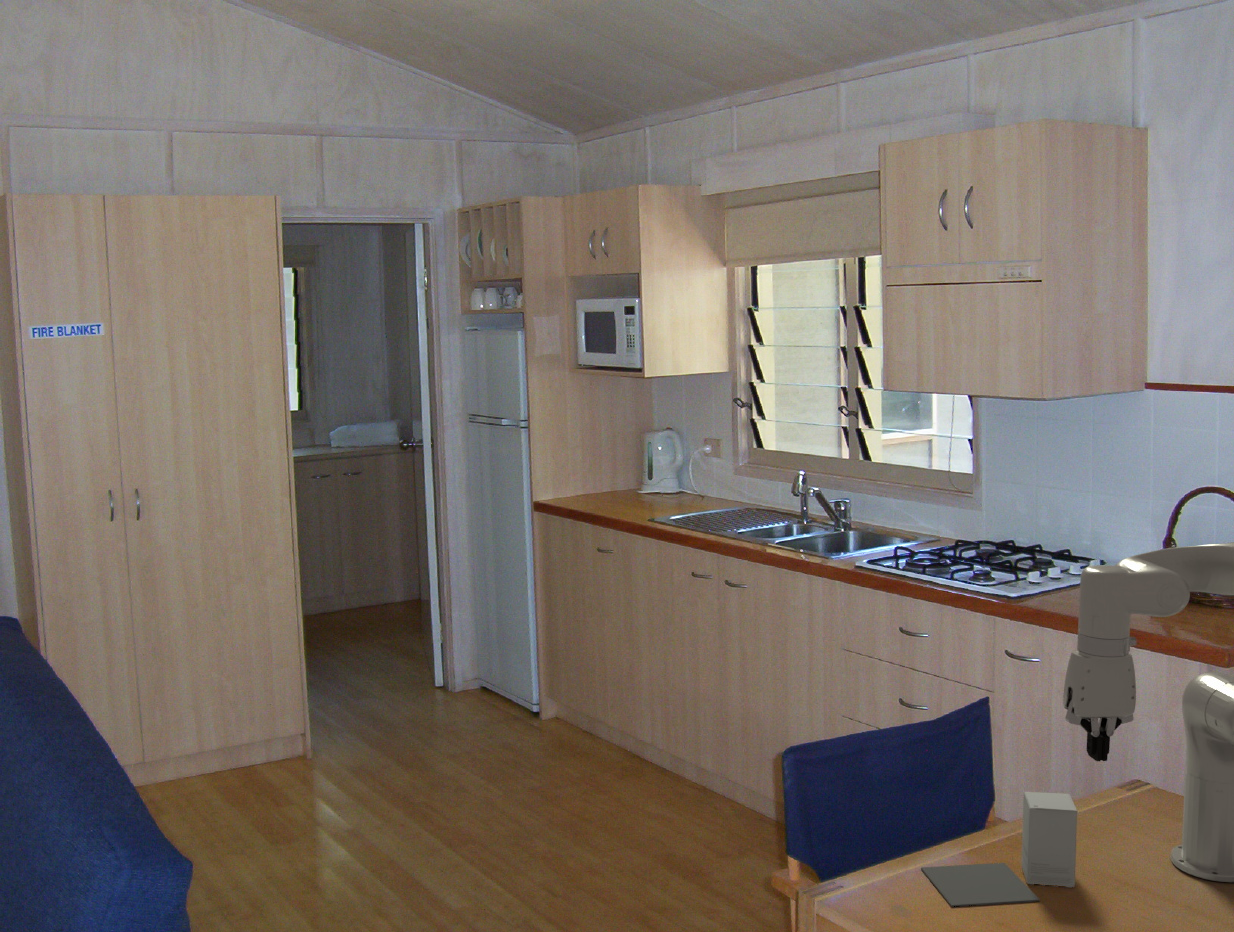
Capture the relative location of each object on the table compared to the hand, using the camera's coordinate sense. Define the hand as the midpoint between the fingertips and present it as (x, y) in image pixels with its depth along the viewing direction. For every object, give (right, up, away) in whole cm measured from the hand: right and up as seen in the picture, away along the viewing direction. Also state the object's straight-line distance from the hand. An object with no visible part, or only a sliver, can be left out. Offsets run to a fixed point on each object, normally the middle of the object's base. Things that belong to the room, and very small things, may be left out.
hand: (1097, 758), depth 195 cm
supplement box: (-7, -19, +1) cm, 21 cm away
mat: (-19, -20, -1) cm, 27 cm away
